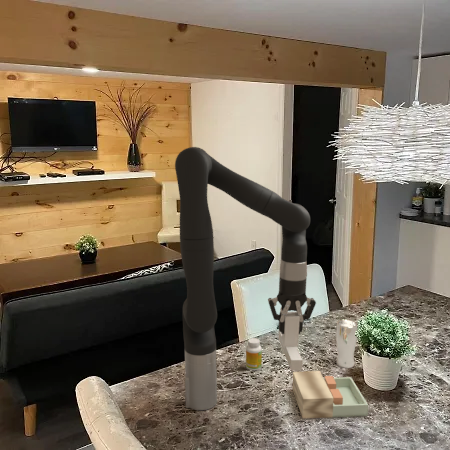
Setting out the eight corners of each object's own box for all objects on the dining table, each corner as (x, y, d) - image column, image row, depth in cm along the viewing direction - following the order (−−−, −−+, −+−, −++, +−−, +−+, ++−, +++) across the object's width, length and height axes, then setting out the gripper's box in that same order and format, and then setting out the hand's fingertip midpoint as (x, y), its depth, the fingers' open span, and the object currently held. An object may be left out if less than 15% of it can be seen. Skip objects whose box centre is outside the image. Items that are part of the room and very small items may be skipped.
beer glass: (357, 361, 160) (359, 321, 157) (353, 370, 154) (355, 328, 151) (337, 357, 163) (338, 318, 160) (333, 366, 157) (334, 325, 154)
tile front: (334, 397, 129) (342, 397, 129) (329, 389, 133) (338, 388, 134) (333, 412, 130) (342, 411, 130) (329, 403, 134) (337, 402, 134)
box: (332, 417, 128) (333, 406, 128) (319, 388, 143) (319, 378, 142) (367, 416, 129) (368, 404, 128) (350, 387, 143) (351, 377, 143)
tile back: (327, 383, 136) (336, 383, 136) (324, 376, 141) (332, 376, 141) (327, 397, 137) (335, 397, 137) (324, 389, 142) (332, 389, 142)
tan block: (302, 418, 128) (303, 399, 127) (292, 389, 143) (292, 371, 141) (332, 417, 128) (333, 398, 127) (319, 388, 143) (319, 370, 142)
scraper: (288, 370, 122) (291, 328, 120) (276, 338, 142) (278, 301, 139) (303, 370, 122) (306, 328, 120) (289, 338, 142) (291, 301, 140)
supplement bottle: (260, 371, 154) (260, 344, 152) (244, 369, 155) (244, 343, 153) (262, 363, 159) (262, 337, 157) (247, 362, 160) (247, 336, 158)
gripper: (314, 271, 132) (311, 327, 135) (266, 271, 131) (263, 327, 134) (321, 279, 124) (317, 338, 127) (269, 279, 124) (267, 338, 127)
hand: (290, 332), depth 131 cm, fingers closed on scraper, 4 cm apart
